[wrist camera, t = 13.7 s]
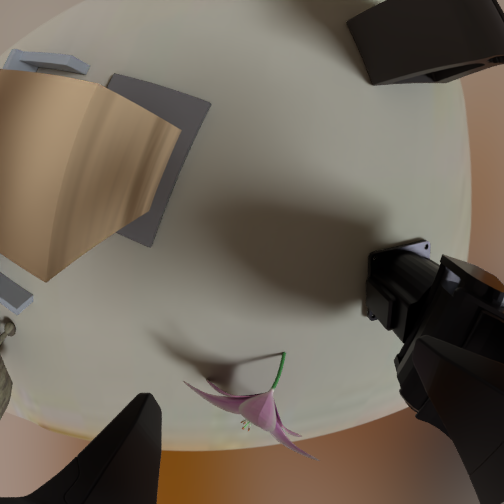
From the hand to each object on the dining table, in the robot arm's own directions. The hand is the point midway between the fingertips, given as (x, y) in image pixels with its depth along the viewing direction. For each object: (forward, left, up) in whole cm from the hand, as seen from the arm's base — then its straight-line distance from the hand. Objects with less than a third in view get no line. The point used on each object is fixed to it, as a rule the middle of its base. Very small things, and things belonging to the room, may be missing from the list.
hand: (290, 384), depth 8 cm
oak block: (+8, -9, -12) cm, 17 cm away
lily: (+3, +12, -13) cm, 18 cm away
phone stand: (-15, -15, -13) cm, 25 cm away
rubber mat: (+8, -9, -13) cm, 17 cm away
